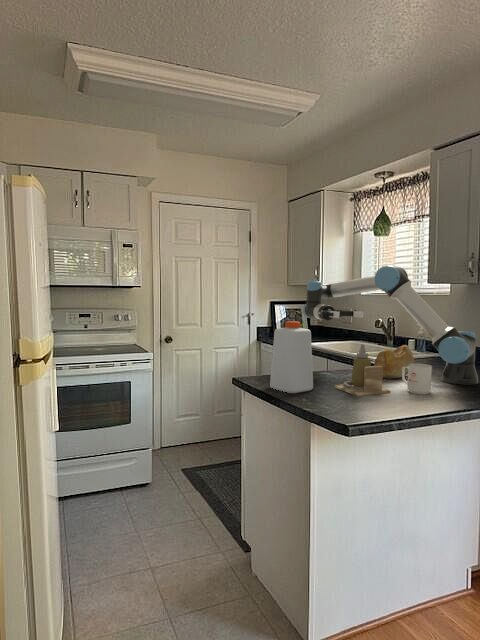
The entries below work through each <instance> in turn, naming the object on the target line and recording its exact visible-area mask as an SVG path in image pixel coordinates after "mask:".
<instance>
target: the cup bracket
mask: <svg viewBox="0 0 480 640" xmlns="http://www.w3.org/2000/svg"><path fill="white" fill-rule="evenodd" d="M383 379H384V378H383V366H374V365H371V366H370V367H365V369H364V387H356V386H354V385H353V381H352V380H346V381H344V382H343V383H342V384H333V388H334V389H337V390H340V391H343V392H346V393H348V394H352V395H354V396H357V397H360V396H361V397H362V396H370V395H379V394H382V395H383V394H390V393H391V390H390V389H388V388H387V389H386V388H384V387H383V381H384V380H383Z"/></svg>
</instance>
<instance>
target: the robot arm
mask: <svg viewBox="0 0 480 640" xmlns="http://www.w3.org/2000/svg"><path fill="white" fill-rule="evenodd" d="M380 290H381V291H382V292H384V293H385V294H386V295H387V296H388V297H389V298H390V299H392V300H396V301H397V302H398V303H399V304H400V305H401V306H402V307H403V308H404V309H405V311H406V312H407V313H409V315H410V316H411V317H412V319H414V321H416V323H417V324H418V325H419V326H420V327H421V328H422V330H424V332H425V333H427V335H428V336H429V337H430V338H431V339H432V345H433V346H434V347H435V348H436V350H437V351H438V353H439V357H440V358H441V359H442V360H443V361H444V362H446V363H445V366H444V368H443V369H444V370H443V372H442V373H441V381H443V382H445V383H449V384H455V385H464V386H465V385H468V386H472V385H473V386H474V385H478V384H479V377H478V373H477V370H476V367H475V365H476V363H475V361H476V345H477V334H476V333H475V332H473V331H472V332H471V331H459V330H458V329H457V328H456V327H455V326H450V325H448V324H447V323H446V322H445V321H444V320H443V319H442V318H441V316H439V314H437V312H436V311H435V310H434V308H432V307H431V305H429V304H428V303H427V301H425V300H424V299H423V298H422V296H421V295H420V294H419V293H418V292H417V291H416V290H415V289H414V288H413V287H412V281H411V279H409V275H408V273H407V271H406V269H404V268H403V267H400V266H395V265H392V264H388V265H384V266H383V265H382V266H381V267H380V268H378V270H376V272H375V274H374V275H372V276H371V275H370V276H366V277H360V278H356V279H350V280H349V279H348V280H345V281H339V282H334V283H329V284H322V281H320V280H319V281H318V280H311V281H310V280H309V281H307V285H306V304H305V305H303V308H302V314H303V315H304V317H306V318H309V319H310V320H311V319H313V320H319V321H320V322H322V321H331V320H333V319H340V318H342V317H353V318H361V319H362V318H364V317H365V313H364V311H360V310H359V311H358V310H357V309H354V310H342V309H337V308H334V307H333V306H332V305H328V304H322V300H330V299H335V298H338V297H339V298H340V297H346V296H351V295H358V294H364V293H368V292H376V291H380Z"/></svg>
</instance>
